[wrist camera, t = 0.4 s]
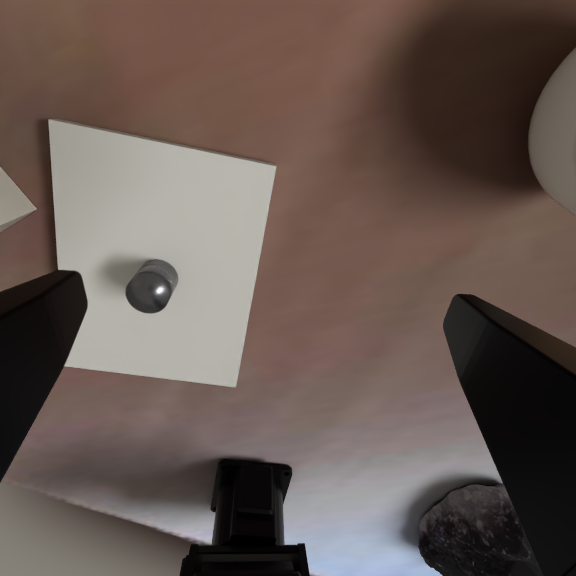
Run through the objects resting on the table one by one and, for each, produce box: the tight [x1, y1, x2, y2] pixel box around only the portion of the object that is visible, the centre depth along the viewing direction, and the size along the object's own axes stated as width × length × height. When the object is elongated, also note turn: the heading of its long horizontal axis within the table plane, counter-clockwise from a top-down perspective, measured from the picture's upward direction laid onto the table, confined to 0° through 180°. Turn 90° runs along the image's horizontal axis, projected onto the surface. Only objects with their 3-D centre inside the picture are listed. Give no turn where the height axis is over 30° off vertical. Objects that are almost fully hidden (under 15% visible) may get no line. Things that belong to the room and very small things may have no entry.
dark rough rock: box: [418, 484, 543, 576], centre depth 34 cm, size 13×14×10 cm
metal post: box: [125, 259, 178, 314], centre depth 22 cm, size 2×2×2 cm
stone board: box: [48, 119, 276, 387], centre depth 24 cm, size 16×12×1 cm
